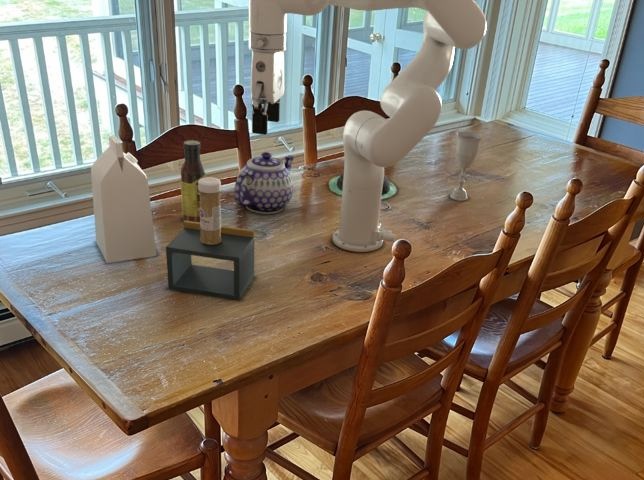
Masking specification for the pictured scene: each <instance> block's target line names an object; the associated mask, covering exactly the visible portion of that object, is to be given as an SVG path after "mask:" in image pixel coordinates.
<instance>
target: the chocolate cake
mask: <svg viewBox="0 0 644 480" xmlns="http://www.w3.org/2000/svg"><path fill="white" fill-rule="evenodd" d="M343 178H344V172H343V173H342V174H341V175H338V176H336V177H333V178H331V179H330V180H329V181H328V188H329V189H330V191H331V192H333V193H335V194H337V195H339V196H342V190H343ZM396 193H397V186H395V184H394V183H392V182H391V181H389V179H388V178H387V175H386V174H385V173H384V180H383V187H382V196H381V200H385V199H389V198H391V197H393V196H394V195H396Z"/></svg>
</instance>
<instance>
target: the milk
mask: <svg viewBox="0 0 644 480" xmlns="http://www.w3.org/2000/svg"><path fill="white" fill-rule="evenodd" d="M138 162H139V161H138V159H137V158H136V157H135V156H133V154H132V153H131V152H128V151H127V153H125V152H124V150H123V145H122V142H121V141H120V140H119V138H118V137H117V135H115V134H114V135H113V134H112V135H108V147H107V148H106V149H105V150H104V151H103V152H102V153H101V155H100V156H99V157H98V158H97V159H96V160H95V161H94V162H93V164H92V165H91V168H90V179H91V190H92V191H91V192H92V193H91V194H92V204H93V205H92V206H93V218H94V219H93V220H94V230H95V242H96V244H97V247H98V248H99V250H100V252H101V254H102V257H103V259H104V260H105V262H106V264H111V263H117V262H125V261H130V260H138V259H144V258H150V257H157V248H156V247H157V246H156V239H155V229H154V221H153V213H152V204H151V195H150V188H149V180H148V178H147V174H146V173H145V172H144V171H143V169H142V168H141V167H140V165H139V164H138Z"/></svg>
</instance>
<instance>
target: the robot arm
mask: <svg viewBox="0 0 644 480" xmlns="http://www.w3.org/2000/svg"><path fill="white" fill-rule="evenodd" d="M327 6H333V7H342V8H346V9H352V10H354V11H355V10H357V11H363V12H364V11H365V12H366V11H367V12H372V11H373V12H374V11H382V10H393V9H408V8H413V9H414V8H417V9H420V10H423V11H425V13H424V16H423V21H422V22H423V23H422V27H423V28H422V41H421V46H420V48H419V50H418V52H417V53H416V55H415V56H414V57H413V58H412V60H411V61H410V62H409V63H408V64H407V65H406V66H405V67H404V68H403V69H402V71H400V72H399V74H397V76H396V77H394V79H392V81H390V83H389V84H387V86H386V87H385V89H383V91H382V92H381V95H380V99H379V103H380V104H379V105H380V108H381V110H382V111H383V112H384V113H385V114H386V116H388V117H389V118H388V119H386V118H385V117H383V116H382V115H380V114H378V113H376V112H373V111H371V110H359V111H357V112H354V113H353V114H352V115H351V116H349V118H348V119H347V121H346V122H345V124H344V126H343V132H342V144H343V157H344V158H343V159H344V161H343V163H344V164H343V165H344V166H343V173H344V178H343V190H342V195H341V203H340V204H341V205H340V217H339V228H338V229H337V230H336V231H334V233H332V238H331V239H332V242H333V244H334V245H335V246H336V247H338V248H340V249H342V250H345V251H349V252H356V253H368V252H373V251H376V250H378V249H379V248H381V247H382V246H383V245H384V241H386V242H390V243H395V240H396V234H395V233H392V232H393V231H392V230H389V229H383V228H381V225H382V224H381V222H379V221H380V214H381V203H382V199H381V196H382V187H383V180H384V174H385V169H386V168H390V167H392V166H393V167H394V166H395V165H397V164H398V163H399V162H400V161H402V160H403V159H404V158H405V157H406V156H407V155H408V154H409V153H410V152H411V151H412V150H413V149H414V148H415V147H416V146H417V145H418V144H419V143H420V142H421V141H422V140H423V139H424V138H425V137H426V136H427V135H428V134H429V133H430V132H431V131H432V129H433V128H434V127H435V126H436V124H437V123H438V121H439V119H440V117H441V112H442V108H443V103H442V99H441V96H440V94H439V93H438V92H437V90H438V89H439V87H440V86H441V85H442V84H443V83H444V82H445V80H447V78H448V76H449V74H450V72H451V70H452V66H453V62H454V57H455V49H459V50H470V49H473V48H476V46H478V45H479V44H480V43H481V42H482V40H483V39H484V36H486V35H485V34H486V31H487V20H486V15H485V13H484V12H483V9H482V8H481V7H480V5H479V4H478V3H477V2H476V1H475V0H248V50H250V51H251V52H252V54H251V55H252V56H251V70H250V71H251V72H250V73H251V74H250V98H251V102H252V104H251V133H252V134H255V135H265V136H266V135H267V134H268V129H269V128H268V127H269V125H268V123H269V122H272V123H279V122H280V118H281V117H280V116H281V114H280V113H281V103H280V102H281V98H282V97H283V96H284V94H285V54H284V53H285V52H286V51H287V28H288V27H287V24H288V14H293V15H298V16H299V15H300V16H309V17H310V16H311V17H312V16H315V15H316V16H317V15H318V14H321V12H323V11H324V10H325V9H326V8H327Z"/></svg>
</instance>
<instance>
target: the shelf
mask: <svg viewBox="0 0 644 480" xmlns="http://www.w3.org/2000/svg"><path fill="white" fill-rule="evenodd" d="M200 238H201V227H200V222H192V221H185V220H183V228H182V229H181V230H180V231H179V232H178V233H177V234H176V235H175V236H174V237H173V238H172V240H171V241H170V242H169V243H168V244H167V245H166V246H165V255H166V271H167V285H168V290H171V291H177V292H184V293H190V294H195V295H196V294H197V295H203V296H209V297H216V298H221V299H222V298H223V299H228V300H235V301H240V300H241V299H242V297H243V295H245V292H246V291H247V290H248V288H249V286H250V285H251V283H252V282H253V280H254V279H255V230H254V229H250V228H249V229H248V228H240V227H234V226H228V225H221V242H220V243H218V244H216V245H206V244H203V243H202V242H201V240H200ZM192 256H195V257H203V258H209V259H214V260H215V259H216V260H223V261H228V262H233V270H232V269H225V268H218V267H211V266H205V265H197V264H193V263H192Z"/></svg>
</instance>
